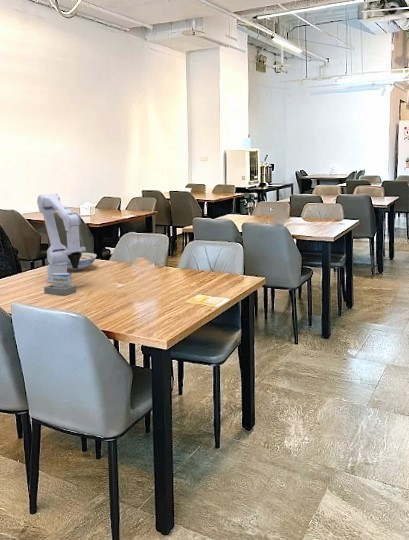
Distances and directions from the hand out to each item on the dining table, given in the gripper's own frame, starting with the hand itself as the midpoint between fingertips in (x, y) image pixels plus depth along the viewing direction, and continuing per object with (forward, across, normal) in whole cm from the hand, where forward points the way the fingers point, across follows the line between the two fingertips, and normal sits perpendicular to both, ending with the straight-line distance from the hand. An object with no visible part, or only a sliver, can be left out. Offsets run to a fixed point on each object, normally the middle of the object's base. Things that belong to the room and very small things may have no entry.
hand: (75, 268), depth 251 cm
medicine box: (+10, -9, 0) cm, 13 cm away
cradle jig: (+9, -11, 0) cm, 15 cm away
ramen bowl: (+10, +34, +28) cm, 45 cm away
